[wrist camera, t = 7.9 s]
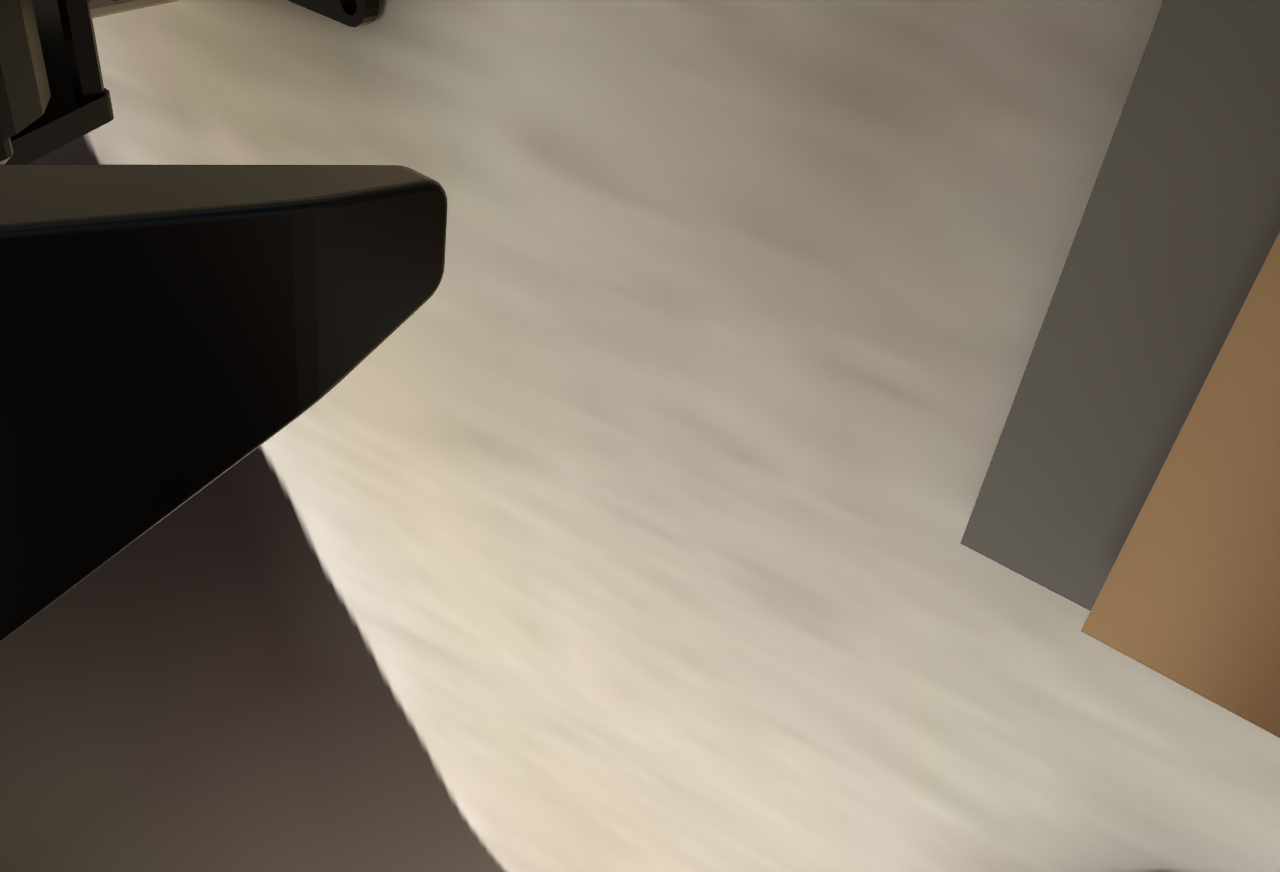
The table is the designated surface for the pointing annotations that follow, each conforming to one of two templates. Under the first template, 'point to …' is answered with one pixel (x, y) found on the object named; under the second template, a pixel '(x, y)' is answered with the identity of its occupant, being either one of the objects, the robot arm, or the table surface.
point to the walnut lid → (1213, 533)
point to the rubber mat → (1141, 297)
